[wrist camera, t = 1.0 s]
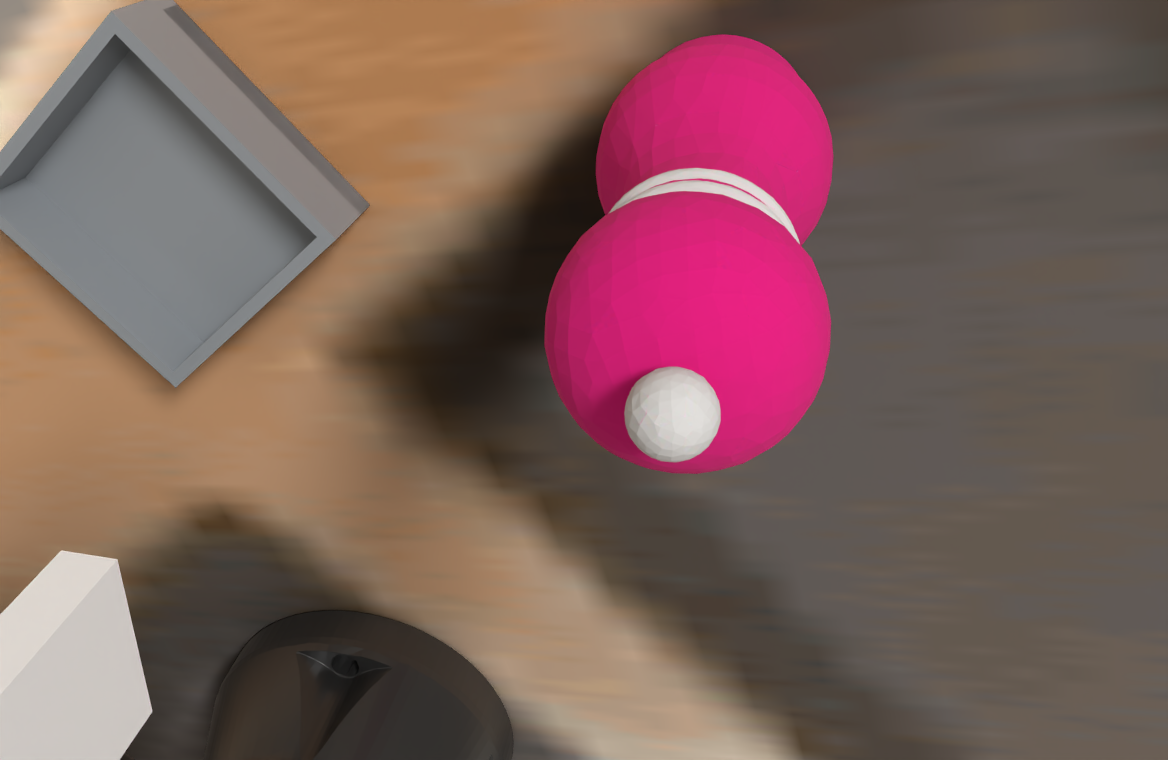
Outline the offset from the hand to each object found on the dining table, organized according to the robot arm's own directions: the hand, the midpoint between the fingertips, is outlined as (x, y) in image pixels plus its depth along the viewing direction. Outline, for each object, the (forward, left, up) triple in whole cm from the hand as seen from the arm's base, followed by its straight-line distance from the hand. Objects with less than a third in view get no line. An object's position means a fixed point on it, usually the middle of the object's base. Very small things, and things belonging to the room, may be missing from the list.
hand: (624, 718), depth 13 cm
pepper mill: (0, 0, -27) cm, 27 cm away
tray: (-17, +11, -26) cm, 33 cm away
